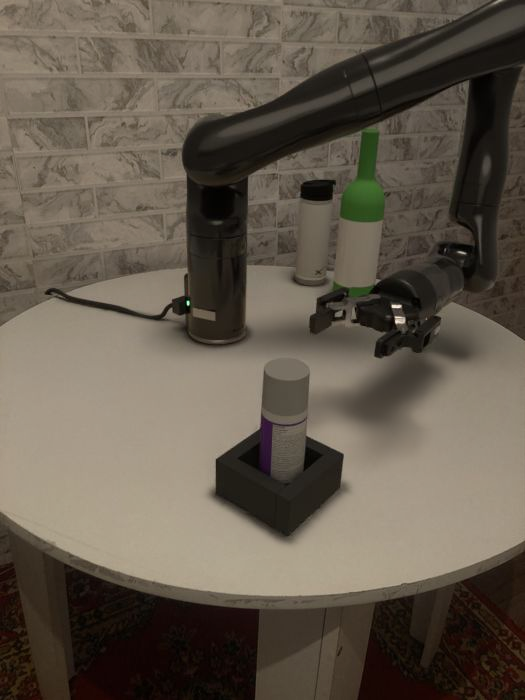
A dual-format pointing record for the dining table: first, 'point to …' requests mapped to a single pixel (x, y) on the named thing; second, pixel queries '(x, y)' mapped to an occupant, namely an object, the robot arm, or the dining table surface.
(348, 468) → the dining table surface
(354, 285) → the wine bottle
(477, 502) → the dining table surface
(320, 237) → the travel mug
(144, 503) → the dining table surface
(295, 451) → the container
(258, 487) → the black square frame
